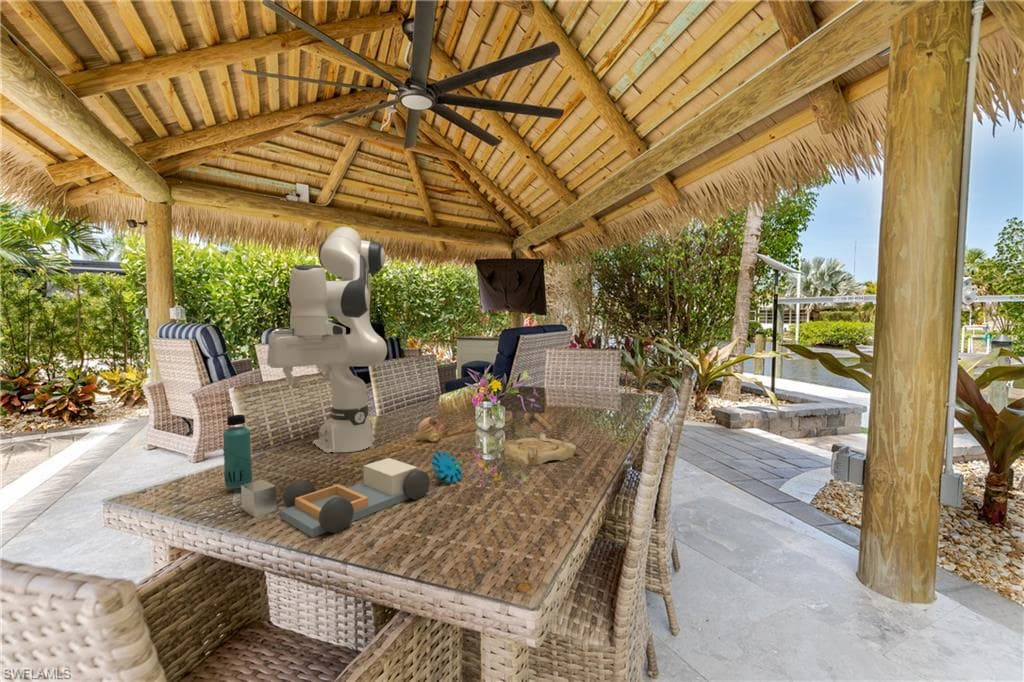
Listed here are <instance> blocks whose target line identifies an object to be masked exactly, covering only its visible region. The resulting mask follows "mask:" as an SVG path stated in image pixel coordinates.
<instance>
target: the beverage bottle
mask: <svg viewBox="0 0 1024 682" xmlns="http://www.w3.org/2000/svg"><path fill="white" fill-rule="evenodd" d="M245 417H246V416H245V415H244V414H233V415H229V416H227V419H226V420H227V421H226V425H228V426H231V427H228V428H227V429H226V430H225V431H224V432H223V433H222V436H223V447H222V450H223V451H222V452H223V460H224V461H223V465H224V470H223V471H224V472H223V475H224V485H225V487H226V488H227V489H239V488H240V489H241V485H244V484H247V483H251V482H253V469H252V468H253V467H252V449H251V430H250V429H249V428H247V427H246V426H241V425H243V424H245V423H246V418H245ZM238 425H239V426H238ZM232 426H233V427H232Z"/></svg>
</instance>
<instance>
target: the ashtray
mask: <svg viewBox="0 0 1024 682" xmlns="http://www.w3.org/2000/svg"><path fill="white" fill-rule="evenodd" d="M501 445H502V447H503V450H504V451H503V456H504V457H506V458H507V459H509V460H513V461H514V460H515V461H514V462H518V463H520V464H522V463H523V464H522V465H527V464H529V465H528V466H537V464H540V465H542V464H544V463H546V462H548V461H555V460H556V461H561V462H564V461H563V460H565V461H567V460H566V459H568V458H569V459H571V458H570V457H572V456H573V457H574V455H575V453H576V451H577V447H578V445H577V444H576V443H575V444H574V443H572V442H568V441H566V440H565V441H563V440H559V439H555V438H549V437H548V436H547V434H546V433H544V432H540V433H539V437H526V438H525V437H524V438H519V439H509V440H505V441H503V442H501ZM573 457H572V458H573ZM569 459H568V460H569Z"/></svg>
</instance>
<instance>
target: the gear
mask: <svg viewBox="0 0 1024 682" xmlns="http://www.w3.org/2000/svg"><path fill="white" fill-rule="evenodd" d="M449 456H450V453H449V452H448V451H445V452H443V451H440V450H439V451H438V452H437V453H435V454H433V456H432V460H431V465H433V466H434V467H433V468H432V469H433V473H437V472H438V473H437V474H436V476H435V477H436V478H437V479H439V480H442V479H443V478H444V477H446V478H445V479H444V482H446V483H447V484H449V483H450V482H451V483H453V484H457V482H458V481H460V480H461V479H462V478H463V476H462V474H463V469H461V468H460V467H461V465H462V464H463V461H462V460H459V461H457V462H455V461H456V460H457V458H456V456H455V455H452V456H451V457H450V458H448V457H449ZM451 478H452V479H451Z"/></svg>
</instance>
